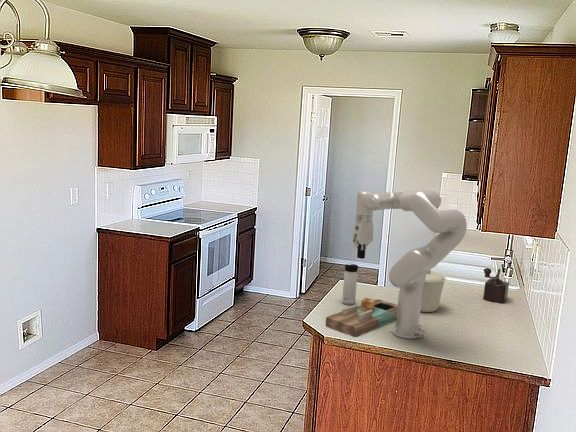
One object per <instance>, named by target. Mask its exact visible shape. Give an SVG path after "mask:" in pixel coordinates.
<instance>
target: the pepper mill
mask: <svg viewBox="0 0 576 432" xmlns="http://www.w3.org/2000/svg"><path fill="white" fill-rule="evenodd" d="M492 271H493V270H492V269H491V268H489V267H485V268H484V269H483V273H484V278H487V281H486V282H485V283H484V289H483V290H484V291H483V298H482V300H484V301H487V302H492V303H496V304H502V305H503V304H505V303H506V302H507V300H508V296H509V295H508V294H509V287H510V282H508V281H504V280H502V279H500V274H501V269H499V268H498V269H497V272H496V275H495V276H491V273H492ZM488 278H489V279H488Z"/></svg>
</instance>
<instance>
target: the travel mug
mask: <svg viewBox="0 0 576 432" xmlns="http://www.w3.org/2000/svg"><path fill="white" fill-rule="evenodd" d="M358 267H359V265H358V264H355V263H353V264H352V263H351V264H348V263H346V264H345V265H344V273H343V276H344V277H343V284H342V286H343V289H342V299H341V303H342V304H343V305H346V306H353V305H356V296H357V293H356V292H357V284H358V283H357V281H358V273H359V272H358V270H359V269H358Z"/></svg>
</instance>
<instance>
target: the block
mask: <svg viewBox="0 0 576 432" xmlns="http://www.w3.org/2000/svg"><path fill="white" fill-rule="evenodd" d="M375 300H376V299H375V298H370V297H369V298H368V297H363V298H362V299H361V300H360V305H361V310H360V311H363V312H366V311H369V310H373V311H374V308H375Z"/></svg>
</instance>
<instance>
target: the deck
mask: <svg viewBox="0 0 576 432" xmlns="http://www.w3.org/2000/svg"><path fill="white" fill-rule="evenodd" d="M397 308H398V304H396V303H392V302H388V301H385V300H382V299H378V298H377V299H375V308H374V311H373V310H369V311H366V312H363V311H360V310H361V304H360V305H358V304H354V305H349V306H348V307H345V308H342V311H340V312H337V313H334V314H331V315H328V316H326V317H325V327H327V328H330V329H333V330H335V331H338V332H341V333H344V334H347V335H349V336H351V337H355V338H356V337H359V336H361V335H363V334H366V333H368V332H371V331H374V330H376V329H379V328H381V327H383V326H385V325H388V324H389V323H390V324H391V323H393V322H395V321H396V319H397Z"/></svg>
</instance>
